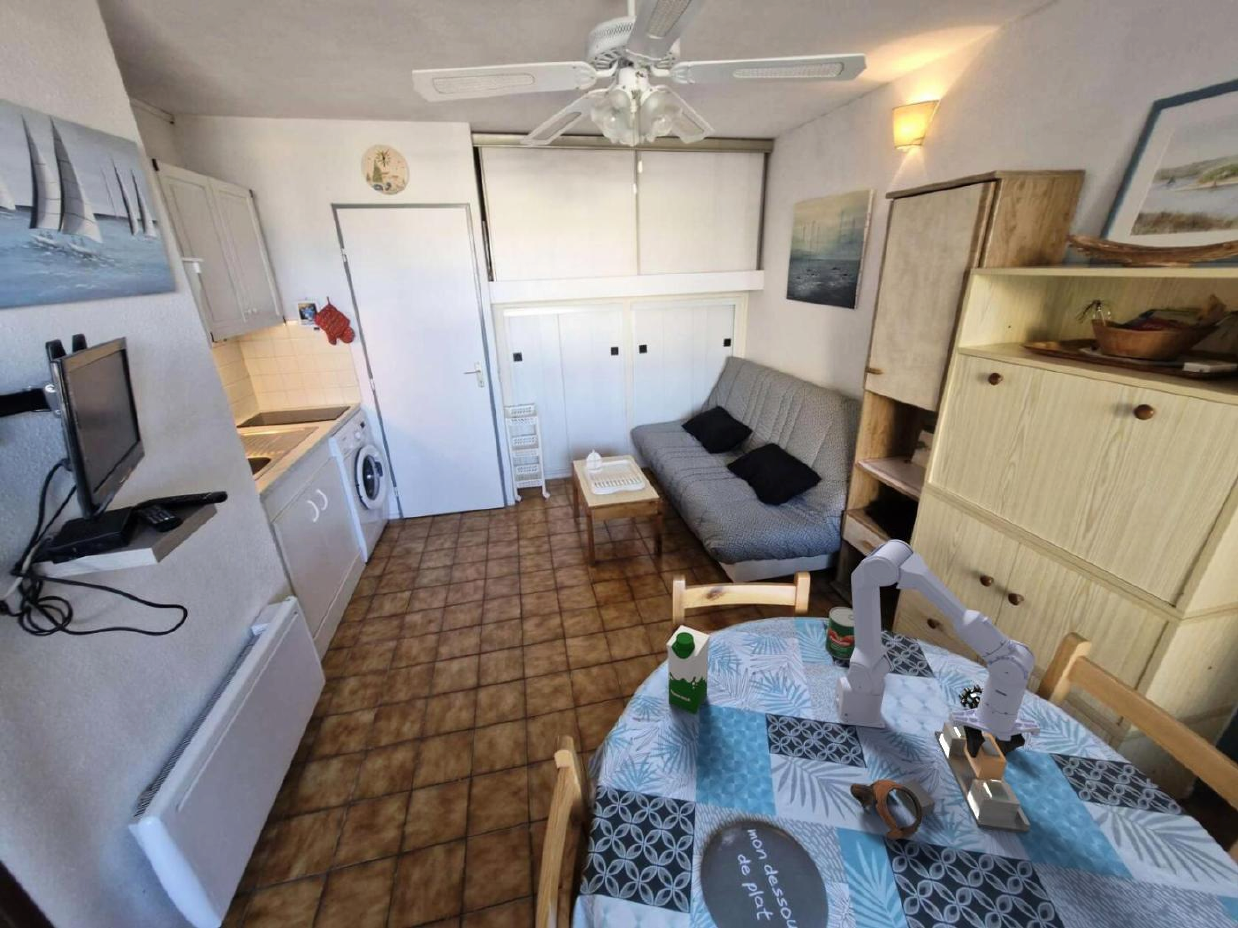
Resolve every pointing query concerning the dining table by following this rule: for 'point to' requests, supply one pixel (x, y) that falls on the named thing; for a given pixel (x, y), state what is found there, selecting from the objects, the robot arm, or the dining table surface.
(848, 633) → the canned tomato
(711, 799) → the dining table surface
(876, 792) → the knobbed brown ring
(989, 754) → the orange module
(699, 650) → the milk carton
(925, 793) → the dark gray block
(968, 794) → the rail plate
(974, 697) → the valve
